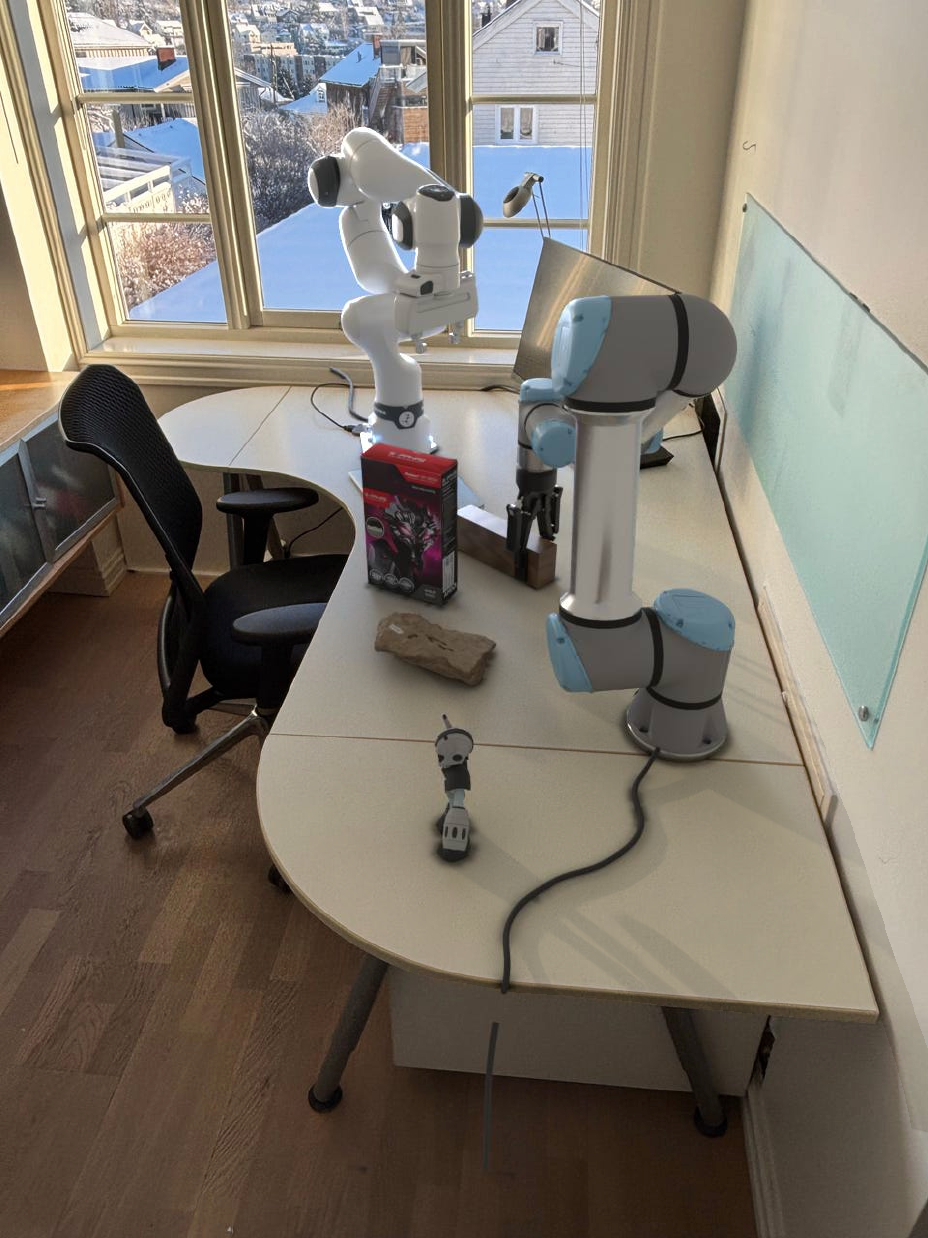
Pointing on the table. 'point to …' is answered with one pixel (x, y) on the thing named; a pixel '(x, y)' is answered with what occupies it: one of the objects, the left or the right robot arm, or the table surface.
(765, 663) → the table surface
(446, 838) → the robot
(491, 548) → the bar
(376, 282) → the left robot arm
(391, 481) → the graphics card box
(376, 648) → the stone
